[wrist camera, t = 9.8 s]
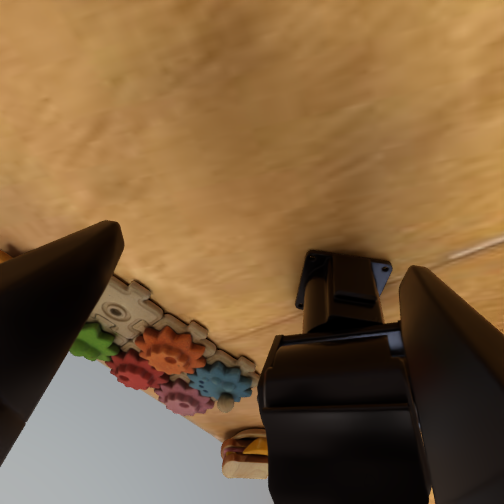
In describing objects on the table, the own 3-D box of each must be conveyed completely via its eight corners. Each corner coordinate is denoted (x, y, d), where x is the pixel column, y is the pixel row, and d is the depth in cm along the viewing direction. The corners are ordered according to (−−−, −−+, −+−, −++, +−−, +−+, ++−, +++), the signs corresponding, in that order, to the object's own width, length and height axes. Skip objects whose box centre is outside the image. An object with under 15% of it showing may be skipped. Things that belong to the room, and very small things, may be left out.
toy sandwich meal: (294, 465, 54) (292, 499, 50) (218, 444, 53) (211, 477, 50) (321, 440, 46) (321, 478, 42) (232, 416, 45) (225, 452, 42)
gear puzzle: (-26, 280, 34) (-60, 308, 31) (16, 195, 26) (-26, 222, 22) (193, 405, 45) (184, 435, 42) (274, 375, 37) (270, 411, 33)
